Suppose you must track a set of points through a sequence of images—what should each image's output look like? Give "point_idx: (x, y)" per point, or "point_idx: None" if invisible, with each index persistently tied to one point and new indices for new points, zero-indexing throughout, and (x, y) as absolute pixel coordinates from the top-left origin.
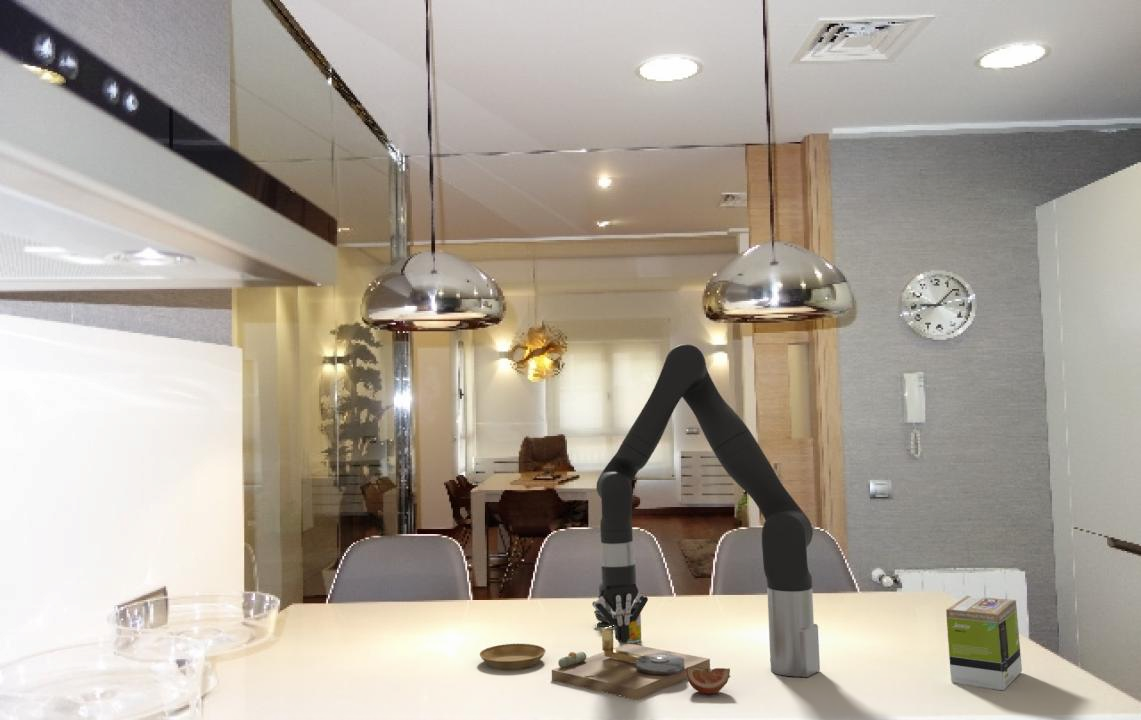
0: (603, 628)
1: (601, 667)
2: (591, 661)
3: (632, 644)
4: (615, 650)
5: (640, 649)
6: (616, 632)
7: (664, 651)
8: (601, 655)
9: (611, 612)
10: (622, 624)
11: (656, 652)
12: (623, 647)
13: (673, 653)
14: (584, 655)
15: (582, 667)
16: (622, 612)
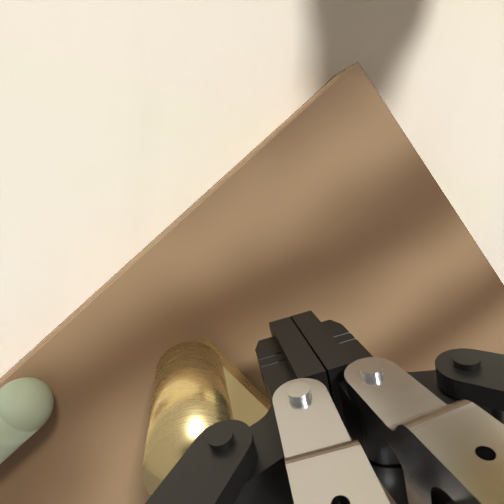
0: (160, 447)
1: (133, 495)
2: (89, 398)
3: (375, 94)
4: (230, 392)
5: (385, 215)
6: (269, 399)
7: (476, 275)
8: (158, 291)
9: (286, 463)
10: (344, 407)
11: (438, 285)
12: (310, 149)
13: (498, 314)
14: (35, 431)
15: (33, 491)
16: (412, 498)
